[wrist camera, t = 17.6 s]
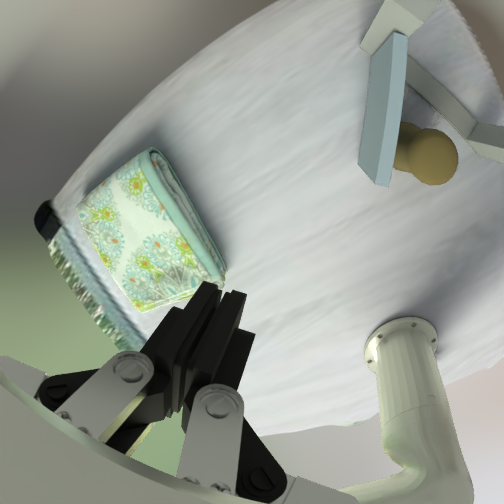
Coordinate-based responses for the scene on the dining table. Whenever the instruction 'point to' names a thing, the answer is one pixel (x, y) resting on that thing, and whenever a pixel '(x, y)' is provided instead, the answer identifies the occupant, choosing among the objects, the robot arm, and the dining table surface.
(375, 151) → the door
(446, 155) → the cork
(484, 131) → the door frame
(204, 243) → the towel
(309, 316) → the dining table surface
